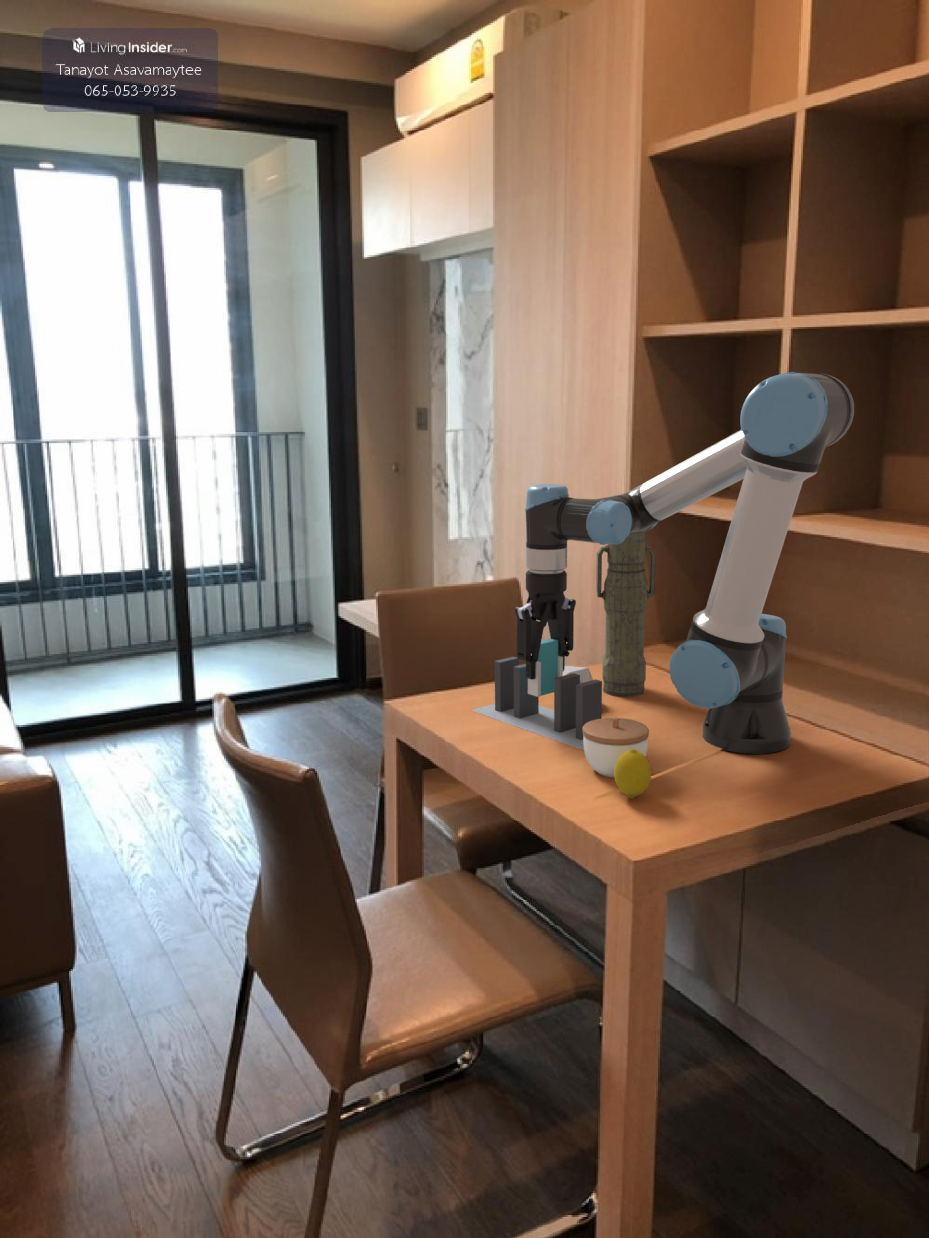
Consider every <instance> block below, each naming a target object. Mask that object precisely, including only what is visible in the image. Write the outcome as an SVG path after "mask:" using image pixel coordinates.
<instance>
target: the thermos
mask: <svg viewBox="0 0 929 1238" xmlns="http://www.w3.org/2000/svg"><path fill="white" fill-rule="evenodd" d="M604 552H606V553H607V555H606V556H607V563H608V566H607V567H608V568H607V569H606V570H607V571H606V577H605V579H604V581H603V584H602V580H603V579H602V574H603V573H602V571H603V554H604ZM647 552H648V553H649V571H648V572H649V575H648V577H649V579H648V580H647V577H646V569H645V562H646V553H647ZM656 561H657V553H656V552H655V550H654V549H653V548H652V546H647V545H646V538H645V532H643V533H639V534H631V535H628V537H627V538H625V540H624V541H623V542H622V543H620V544H605V545H604V546H601V547H600V548H599V549H598V550H597V552H596V571H595V572H596V573H595V574H596V577H595V579H596V581H595V583H596V588H595V589H596V597H597V598H599V599H600V598H602V600H603V609H604V612H605V652H604V655H603V658H602V676H601V677H602V692H604V693H605V694H607V695H610V696H615V697H626V698H627V697H637V696H641V695H643V694H645V692H646V690H645V682H646V680H647V676H646V675H647V661H646V659H645V655H644V653H645V652H644V649H645V647H644V644H645V613H646V611H647V608H648V600H649V598H650V599H651V597H652V596H654V595H655V594H656V564H657V563H656ZM602 586H603V587H602ZM602 588H603V590H602Z"/></svg>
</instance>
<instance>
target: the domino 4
mask: <svg viewBox="0 0 929 1238" xmlns="http://www.w3.org/2000/svg"><path fill="white" fill-rule="evenodd" d="M602 700H603V680H600V679H593V680H591V681H588V682H584V683H580V684H577V685H576V738H577V739H580V740H583V732H582V729H583V726H584V725H585V724H586V723H587V722H589V721H592V720H596V719H602V718H603V717H602V713H603V711H602V710H603V709H602V708H603V706H602V705H603V701H602Z"/></svg>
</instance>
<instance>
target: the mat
mask: <svg viewBox="0 0 929 1238" xmlns="http://www.w3.org/2000/svg"><path fill="white" fill-rule="evenodd" d="M470 711H471V712H475V713H477V714H480V715H483V716H486V717H488V718H491V719H493V720H497V721H500V722H502V723H505V724H507V725H508V724H509V725H511V726H514V727H517V728H519V729H522V730H525V731H528V732H531V733H533V734H536V735H539V736H541V737H545V738H547V739H550V740H553V741H555V742H558V743H561V744H565V745H567V746H570V747H573V748H575V749H578V750H584V745H583V740H580V739H577V738H576V728H574V729H571V730H568V731H564V732H561V733H560V732H557V731H554V709H552V708H548V707H546V706H542V705H539V713H537V714H534V715H530V716H527V717H524V718H520V719H519V718H516V717H514V708H513V709H510V710H506V711H503V712H499V711H496V710H495V703H492V704H489V705H485V706H482V707H478V708H474V709H471V710H470Z"/></svg>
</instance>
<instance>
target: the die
mask: <svg viewBox="0 0 929 1238" xmlns="http://www.w3.org/2000/svg"><path fill="white" fill-rule="evenodd" d="M564 666H565V669H564V671H563V676H565V675H569V674H573V673H575V674H578V675H580V683H584V682H588V681H591V680H594V678H593V677H592V674H591V672H590V668H589V667H584V666H583V667H582V666H572V665H564Z"/></svg>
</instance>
